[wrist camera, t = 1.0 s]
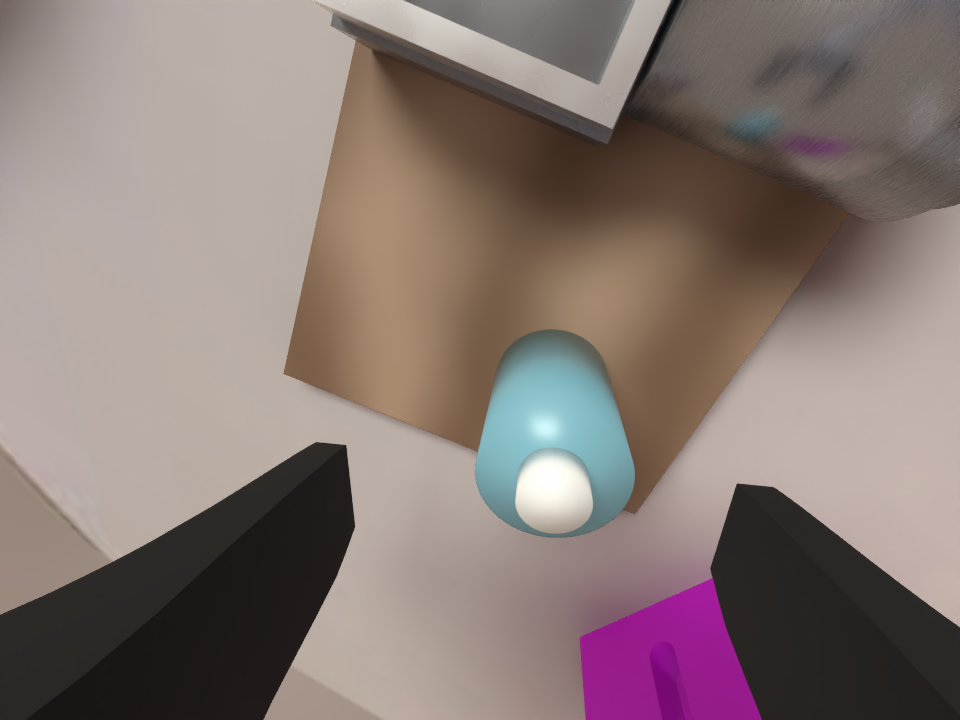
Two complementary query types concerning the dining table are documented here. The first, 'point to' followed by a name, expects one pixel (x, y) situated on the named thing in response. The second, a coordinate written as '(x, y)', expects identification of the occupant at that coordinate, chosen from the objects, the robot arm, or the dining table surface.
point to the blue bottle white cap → (554, 439)
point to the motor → (715, 80)
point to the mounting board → (536, 260)
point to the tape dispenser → (666, 664)
